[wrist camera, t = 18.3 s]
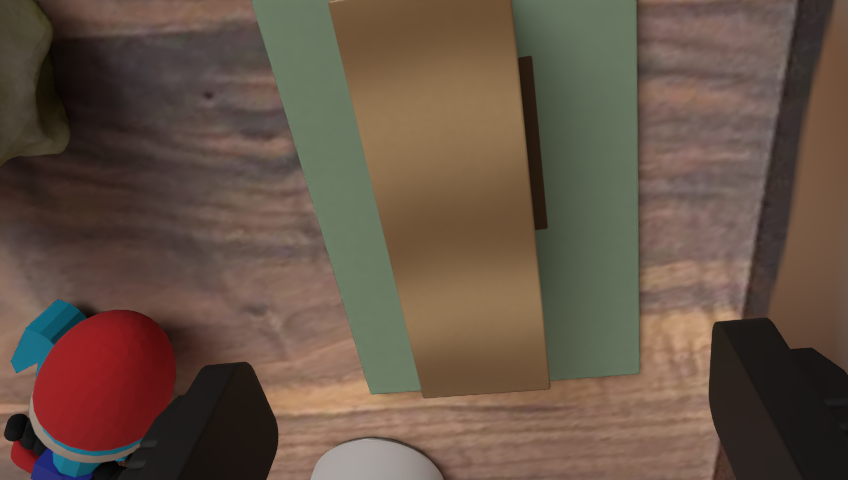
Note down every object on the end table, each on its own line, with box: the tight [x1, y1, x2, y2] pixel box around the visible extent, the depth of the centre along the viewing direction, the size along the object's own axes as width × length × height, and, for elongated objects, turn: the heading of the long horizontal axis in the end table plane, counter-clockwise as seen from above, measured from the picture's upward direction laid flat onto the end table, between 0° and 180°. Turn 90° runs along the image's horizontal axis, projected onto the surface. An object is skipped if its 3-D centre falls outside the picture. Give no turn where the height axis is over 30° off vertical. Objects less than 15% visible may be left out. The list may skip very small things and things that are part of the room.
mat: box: [251, 0, 640, 394], centre depth 20 cm, size 20×11×1 cm, turn 10°
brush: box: [328, 0, 551, 398], centre depth 18 cm, size 12×4×4 cm, turn 10°
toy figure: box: [4, 299, 176, 480], centre depth 25 cm, size 8×5×15 cm
